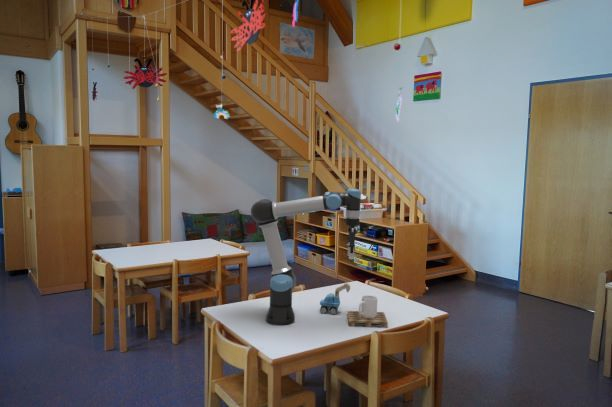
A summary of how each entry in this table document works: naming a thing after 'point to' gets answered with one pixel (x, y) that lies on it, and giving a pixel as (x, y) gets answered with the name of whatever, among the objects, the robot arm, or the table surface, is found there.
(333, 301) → the toy excavator
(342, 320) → the table surface
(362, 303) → the cup
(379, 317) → the wooden pallet
